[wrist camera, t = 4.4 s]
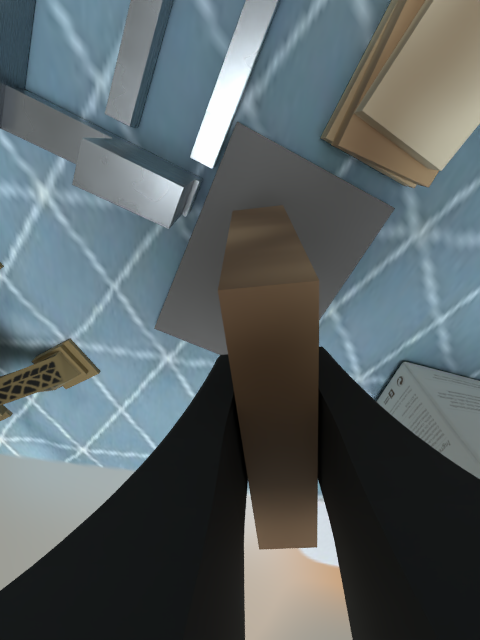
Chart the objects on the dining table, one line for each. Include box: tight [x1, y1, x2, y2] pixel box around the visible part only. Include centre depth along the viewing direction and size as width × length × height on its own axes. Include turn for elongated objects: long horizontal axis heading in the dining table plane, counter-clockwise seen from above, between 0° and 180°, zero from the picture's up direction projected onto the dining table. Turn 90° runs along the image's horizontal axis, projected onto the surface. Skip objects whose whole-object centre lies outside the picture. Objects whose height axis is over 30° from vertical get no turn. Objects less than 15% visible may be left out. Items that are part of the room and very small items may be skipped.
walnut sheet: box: [218, 205, 319, 549], centre depth 10 cm, size 2×8×6 cm, turn 6°
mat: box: [154, 122, 395, 355], centre depth 17 cm, size 8×11×1 cm
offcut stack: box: [321, 0, 480, 188], centre depth 12 cm, size 4×7×3 cm, turn 155°
